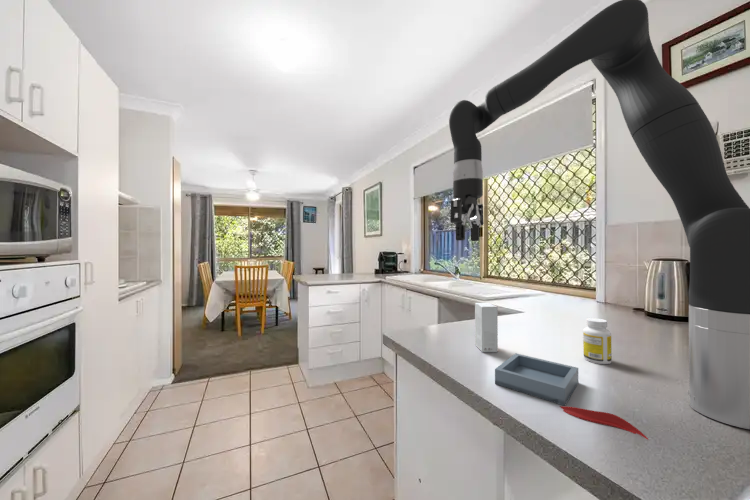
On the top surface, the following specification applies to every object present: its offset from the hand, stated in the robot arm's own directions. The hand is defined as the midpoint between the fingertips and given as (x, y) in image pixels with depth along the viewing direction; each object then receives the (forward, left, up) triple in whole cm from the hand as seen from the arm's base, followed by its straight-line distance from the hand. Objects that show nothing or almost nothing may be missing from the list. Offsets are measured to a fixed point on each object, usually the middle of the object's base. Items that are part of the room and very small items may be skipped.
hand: (468, 240), depth 78 cm
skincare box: (-3, -4, -30) cm, 30 cm away
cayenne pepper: (-30, +16, -30) cm, 45 cm away
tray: (-19, +9, -29) cm, 36 cm away
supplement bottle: (-26, -14, -30) cm, 42 cm away
